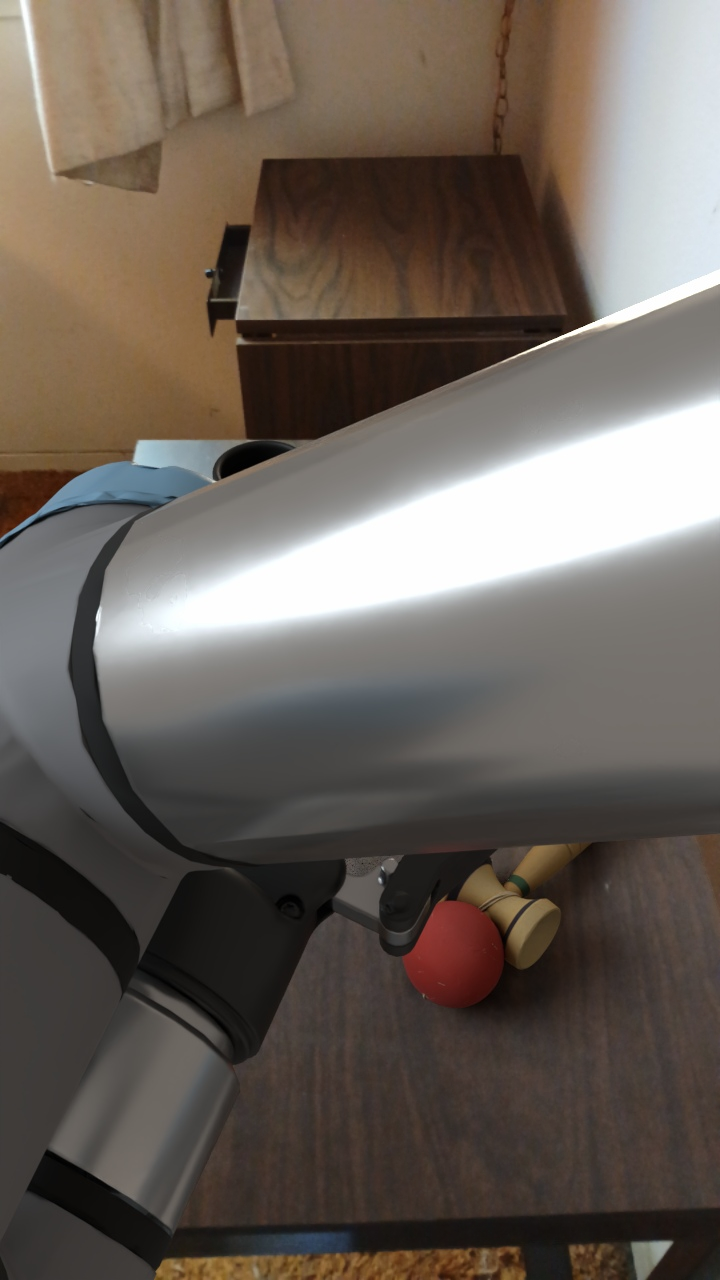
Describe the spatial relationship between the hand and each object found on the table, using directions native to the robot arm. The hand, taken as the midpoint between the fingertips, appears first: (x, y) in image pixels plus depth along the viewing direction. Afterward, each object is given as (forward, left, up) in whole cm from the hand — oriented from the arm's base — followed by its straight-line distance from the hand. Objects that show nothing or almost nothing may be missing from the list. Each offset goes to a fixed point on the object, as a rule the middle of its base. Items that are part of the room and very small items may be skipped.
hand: (387, 560), depth 39 cm
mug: (+36, -8, -28) cm, 46 cm away
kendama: (-6, -6, -28) cm, 29 cm away
